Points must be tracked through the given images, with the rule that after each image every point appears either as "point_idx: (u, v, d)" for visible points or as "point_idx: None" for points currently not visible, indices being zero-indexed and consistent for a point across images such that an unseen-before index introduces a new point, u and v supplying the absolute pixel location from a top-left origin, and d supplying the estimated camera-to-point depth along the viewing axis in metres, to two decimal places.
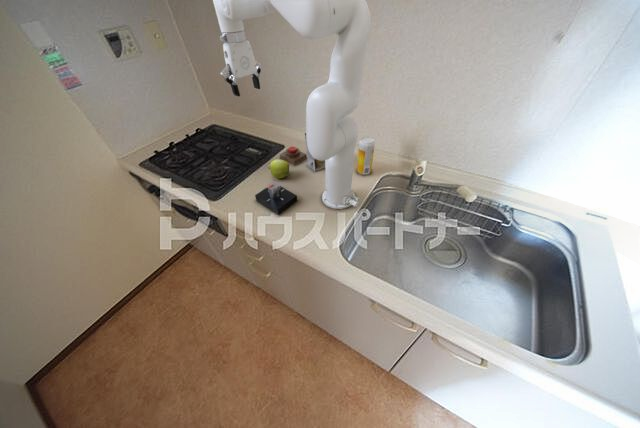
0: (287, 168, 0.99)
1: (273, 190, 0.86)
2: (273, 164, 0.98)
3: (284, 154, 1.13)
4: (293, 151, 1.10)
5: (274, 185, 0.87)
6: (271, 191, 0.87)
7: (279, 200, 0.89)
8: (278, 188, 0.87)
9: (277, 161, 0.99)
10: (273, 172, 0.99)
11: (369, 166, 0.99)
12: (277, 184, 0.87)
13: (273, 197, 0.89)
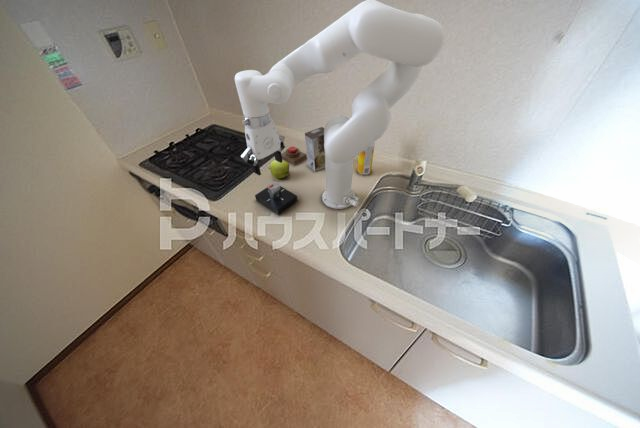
0: (287, 168, 0.99)
1: (273, 190, 0.86)
2: (273, 164, 0.98)
3: (284, 154, 1.13)
4: (293, 151, 1.10)
5: (274, 185, 0.87)
6: (271, 191, 0.87)
7: (279, 200, 0.89)
8: (278, 188, 0.87)
9: (277, 161, 0.99)
10: (273, 172, 0.99)
11: (369, 166, 0.99)
12: (277, 184, 0.87)
13: (273, 197, 0.89)
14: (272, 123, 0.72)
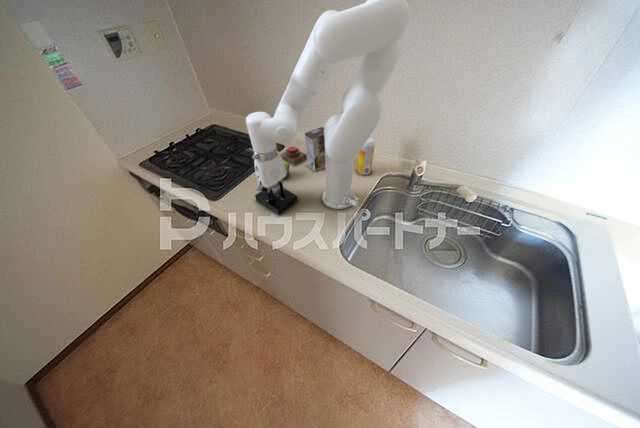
0: (287, 168, 0.99)
1: (273, 190, 0.86)
2: None
3: (284, 154, 1.13)
4: (293, 151, 1.10)
5: (274, 185, 0.87)
6: None
7: (279, 200, 0.89)
8: (278, 188, 0.87)
9: None
10: None
11: (369, 166, 0.99)
12: (277, 184, 0.87)
13: (273, 197, 0.89)
14: (279, 155, 0.80)
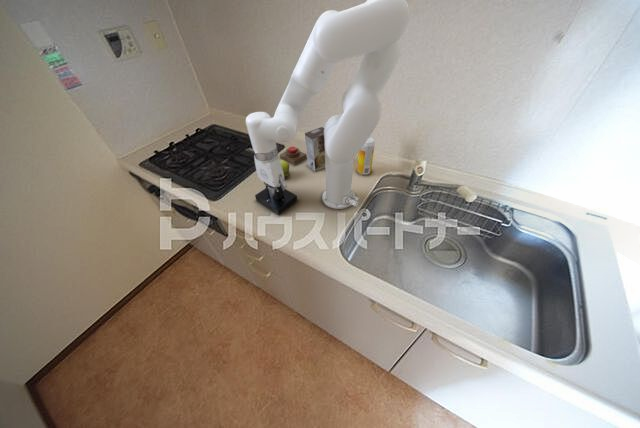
0: (287, 168, 0.99)
1: None
2: None
3: (284, 154, 1.13)
4: (293, 151, 1.10)
5: None
6: None
7: (279, 200, 0.89)
8: (270, 190, 0.87)
9: None
10: None
11: (369, 166, 0.99)
12: (273, 187, 0.86)
13: None
14: (267, 164, 0.76)
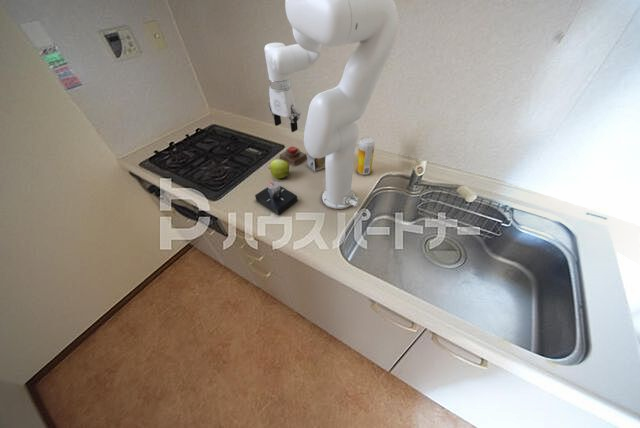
0: (287, 168, 0.99)
1: None
2: (273, 164, 0.98)
3: (284, 154, 1.13)
4: (293, 151, 1.10)
5: (272, 185, 0.87)
6: None
7: (279, 200, 0.89)
8: (270, 190, 0.87)
9: (277, 161, 0.99)
10: (273, 172, 0.99)
11: (369, 166, 0.99)
12: (273, 187, 0.86)
13: None
14: (282, 92, 0.87)
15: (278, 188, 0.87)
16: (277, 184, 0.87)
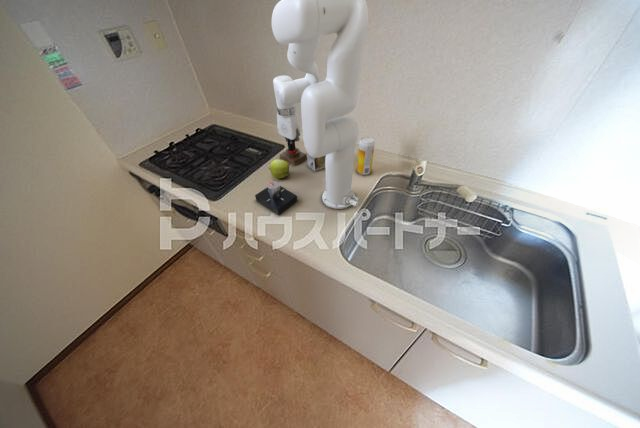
0: (287, 168, 0.99)
1: None
2: (273, 164, 0.98)
3: (284, 154, 1.13)
4: (293, 152, 1.11)
5: (272, 185, 0.87)
6: None
7: (279, 200, 0.89)
8: (270, 190, 0.87)
9: (277, 161, 0.99)
10: (273, 172, 0.99)
11: (369, 166, 0.99)
12: (273, 187, 0.86)
13: None
14: (288, 118, 0.97)
15: (278, 188, 0.87)
16: (277, 184, 0.87)
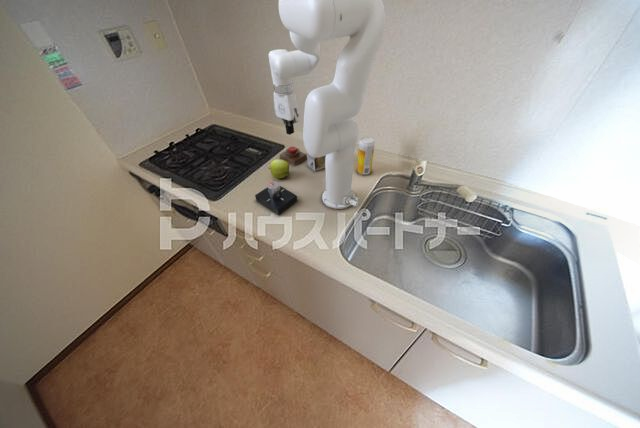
0: (287, 168, 0.99)
1: None
2: (273, 164, 0.98)
3: (284, 154, 1.13)
4: (293, 151, 1.10)
5: (272, 185, 0.87)
6: None
7: (279, 200, 0.89)
8: (270, 190, 0.87)
9: (277, 161, 0.99)
10: (273, 172, 0.99)
11: (369, 166, 0.99)
12: (273, 187, 0.86)
13: None
14: (285, 96, 0.91)
15: (278, 188, 0.87)
16: (277, 184, 0.87)
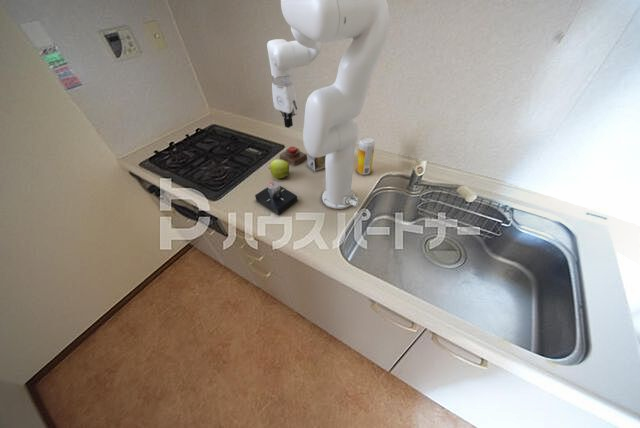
0: (287, 168, 0.99)
1: None
2: (273, 164, 0.98)
3: (284, 154, 1.13)
4: (293, 151, 1.10)
5: (272, 185, 0.87)
6: None
7: (279, 200, 0.89)
8: (270, 190, 0.87)
9: (277, 161, 0.99)
10: (273, 172, 0.99)
11: (369, 166, 0.99)
12: (273, 187, 0.86)
13: None
14: (284, 88, 0.89)
15: (278, 188, 0.87)
16: (277, 184, 0.87)
